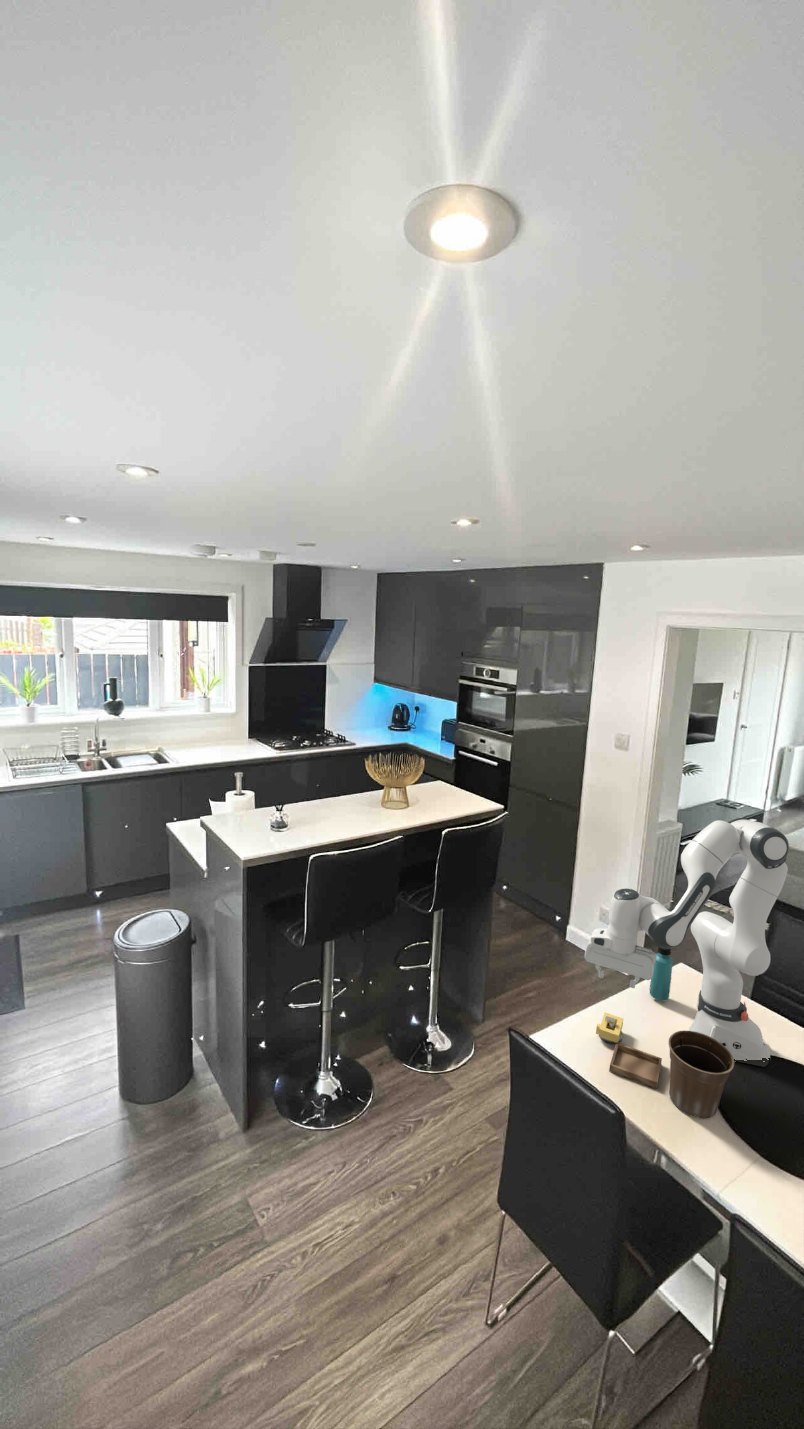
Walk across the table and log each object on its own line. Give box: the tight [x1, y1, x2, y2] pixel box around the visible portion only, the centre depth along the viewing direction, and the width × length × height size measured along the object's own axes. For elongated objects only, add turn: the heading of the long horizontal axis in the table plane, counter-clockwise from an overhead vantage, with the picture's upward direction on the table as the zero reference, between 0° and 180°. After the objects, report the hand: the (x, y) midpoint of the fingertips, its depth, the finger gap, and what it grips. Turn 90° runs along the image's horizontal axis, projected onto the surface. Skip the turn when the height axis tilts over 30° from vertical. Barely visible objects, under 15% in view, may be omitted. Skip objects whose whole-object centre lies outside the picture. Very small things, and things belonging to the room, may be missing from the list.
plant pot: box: [668, 1030, 735, 1120], centre depth 170 cm, size 16×16×16 cm
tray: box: [608, 1043, 663, 1090], centre depth 183 cm, size 13×11×2 cm
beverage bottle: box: [649, 946, 674, 1002], centre depth 214 cm, size 6×7×20 cm
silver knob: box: [599, 1016, 624, 1046], centre depth 195 cm, size 7×7×6 cm
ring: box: [595, 1012, 624, 1043], centre depth 196 cm, size 7×9×3 cm
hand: (616, 981), depth 192 cm, fingers open, 8 cm apart
